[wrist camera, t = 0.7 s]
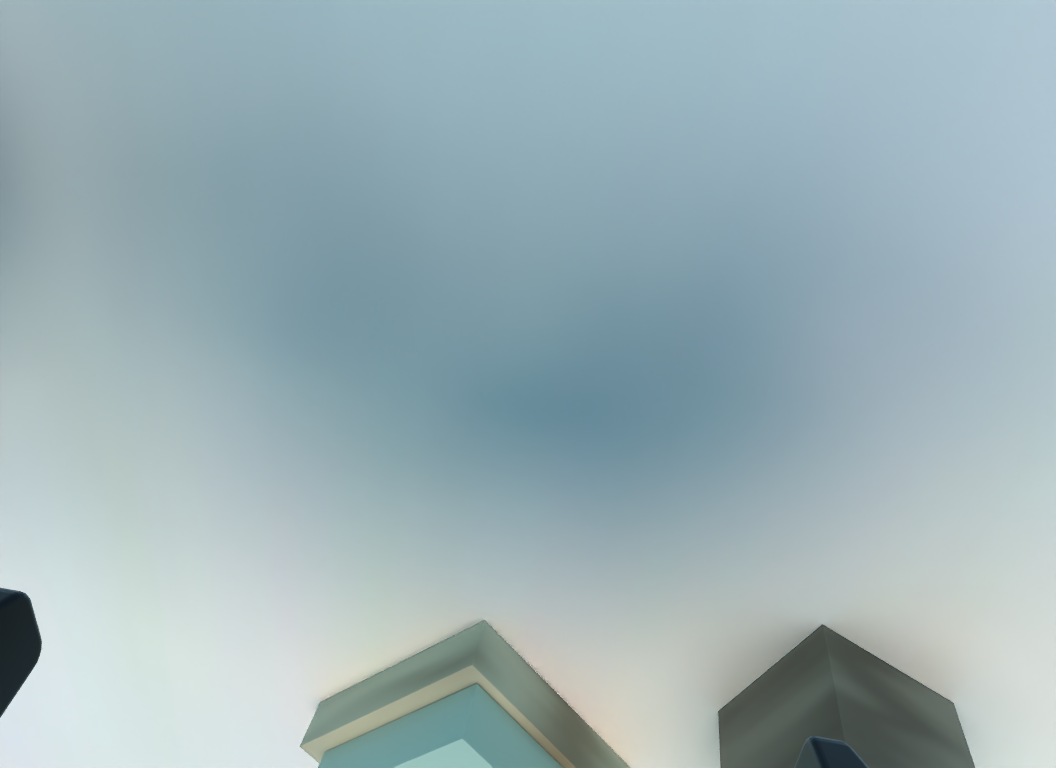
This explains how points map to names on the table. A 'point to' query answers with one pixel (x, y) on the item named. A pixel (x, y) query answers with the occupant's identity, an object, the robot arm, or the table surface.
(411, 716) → the green slab
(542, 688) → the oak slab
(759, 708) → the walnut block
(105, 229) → the table surface
